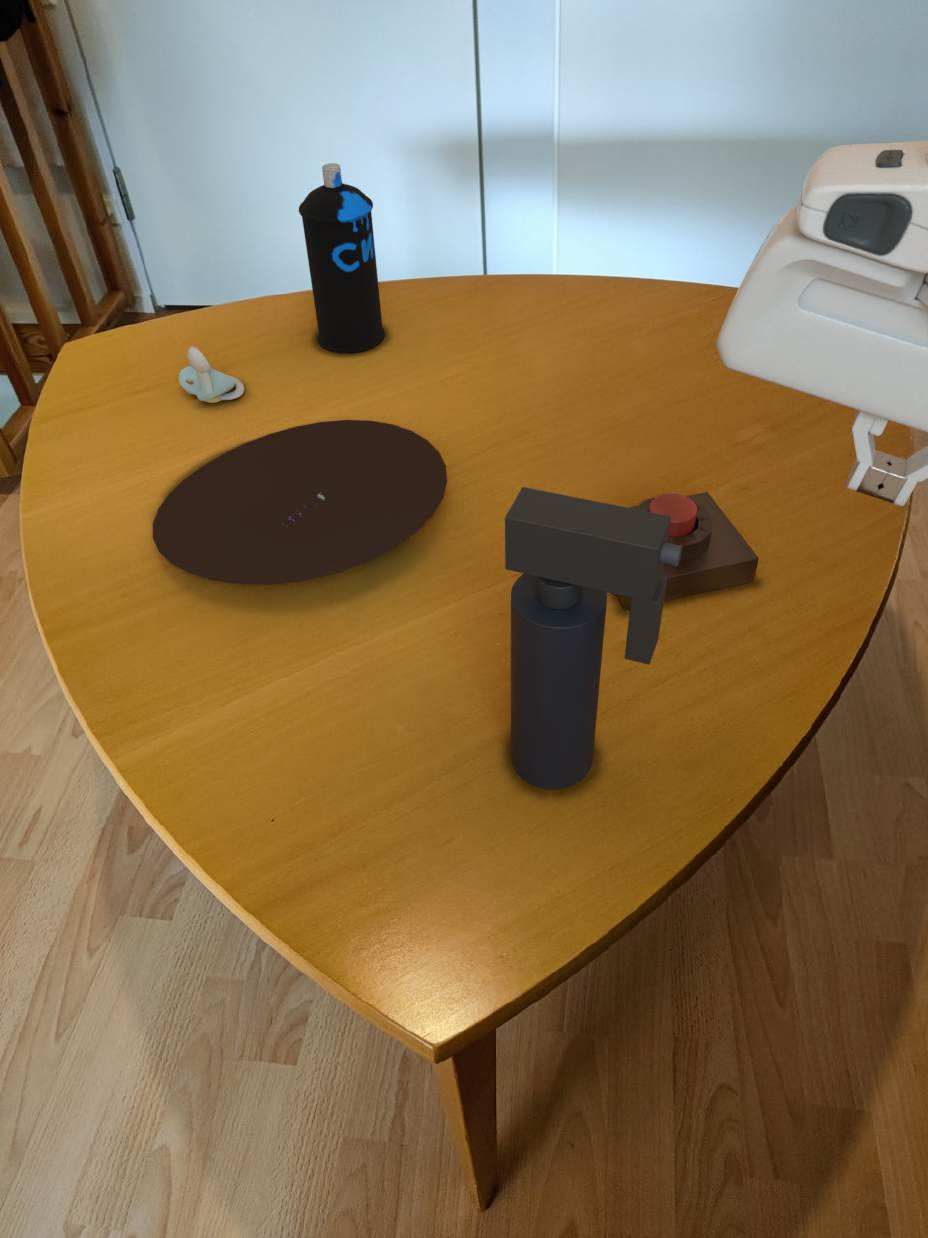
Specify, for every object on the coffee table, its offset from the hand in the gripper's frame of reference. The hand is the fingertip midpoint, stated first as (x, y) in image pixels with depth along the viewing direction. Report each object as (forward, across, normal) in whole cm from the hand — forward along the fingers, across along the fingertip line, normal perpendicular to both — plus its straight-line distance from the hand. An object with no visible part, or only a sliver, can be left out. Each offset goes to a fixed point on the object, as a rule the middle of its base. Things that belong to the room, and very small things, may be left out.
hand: (874, 491), depth 51 cm
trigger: (+15, +8, 0) cm, 17 cm away
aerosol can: (+34, +54, -53) cm, 83 cm away
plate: (+34, +42, -20) cm, 58 cm away
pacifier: (+36, +62, -37) cm, 81 cm away
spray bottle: (+29, +9, 0) cm, 30 cm away
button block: (+27, +9, -25) cm, 38 cm away
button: (+23, +9, -24) cm, 35 cm away
